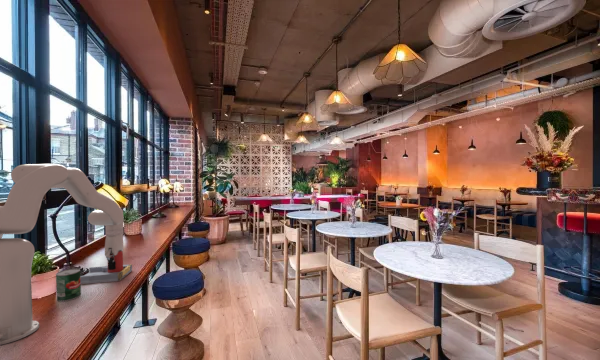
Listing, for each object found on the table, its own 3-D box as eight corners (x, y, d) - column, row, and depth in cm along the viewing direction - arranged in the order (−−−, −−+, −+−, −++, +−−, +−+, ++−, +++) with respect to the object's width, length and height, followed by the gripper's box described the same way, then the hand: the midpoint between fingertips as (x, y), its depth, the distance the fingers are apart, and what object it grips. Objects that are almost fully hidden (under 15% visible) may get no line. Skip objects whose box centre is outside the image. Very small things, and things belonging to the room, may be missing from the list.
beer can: (104, 275, 135) (103, 252, 135) (115, 271, 141) (115, 248, 141) (115, 276, 134) (114, 252, 133) (126, 272, 140) (126, 249, 140)
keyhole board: (119, 281, 131) (119, 274, 131) (72, 285, 127) (72, 277, 127) (132, 270, 146) (132, 263, 146) (91, 273, 142) (91, 266, 142)
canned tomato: (62, 294, 117) (61, 270, 117) (84, 291, 120) (83, 267, 119) (52, 303, 109) (51, 276, 109) (76, 299, 112) (75, 273, 112)
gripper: (114, 229, 145) (115, 262, 145) (97, 236, 128) (98, 273, 128) (129, 228, 146) (130, 261, 147) (114, 235, 129) (115, 272, 130)
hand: (115, 266), depth 137 cm, fingers closed on beer can, 6 cm apart
